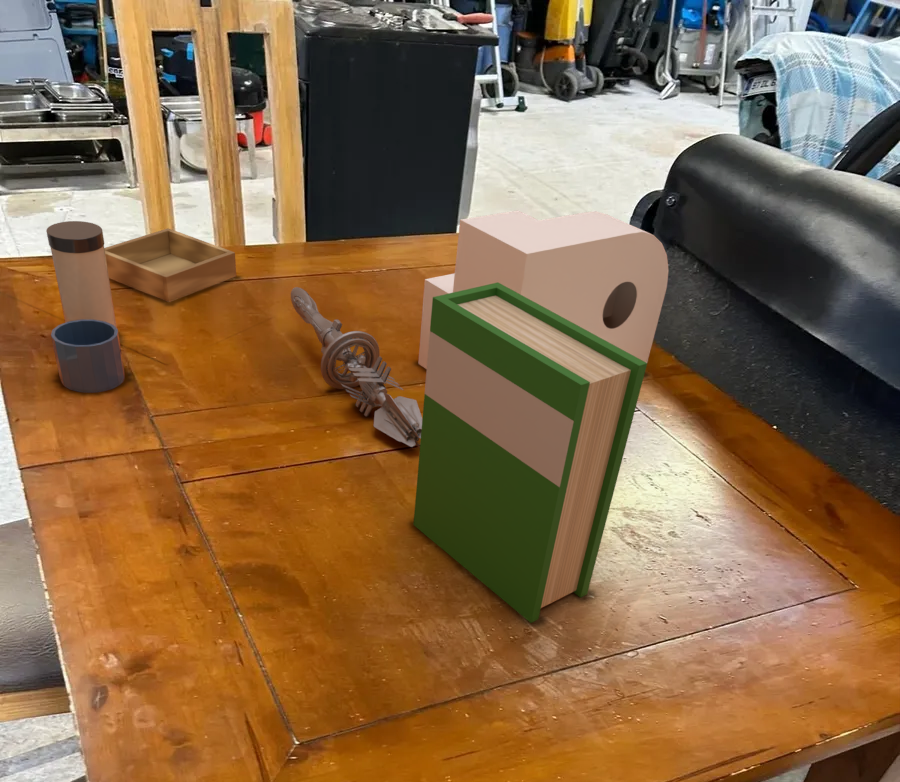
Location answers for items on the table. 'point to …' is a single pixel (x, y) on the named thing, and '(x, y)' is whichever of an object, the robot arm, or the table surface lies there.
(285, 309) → the table surface
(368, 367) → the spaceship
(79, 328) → the cup
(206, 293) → the table surface
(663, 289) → the stepped bracket block
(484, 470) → the hardback book
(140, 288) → the tray
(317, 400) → the table surface
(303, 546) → the table surface
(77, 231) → the jar
